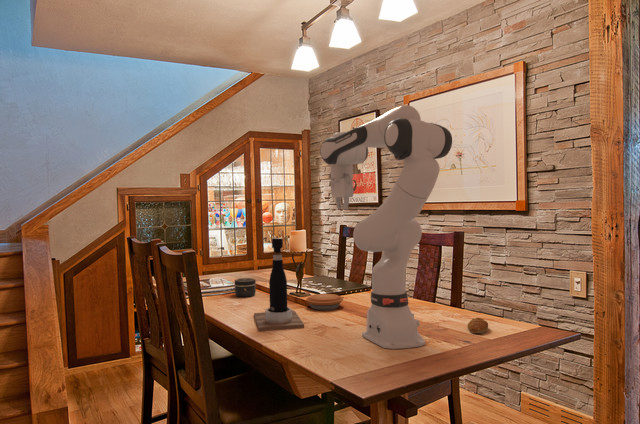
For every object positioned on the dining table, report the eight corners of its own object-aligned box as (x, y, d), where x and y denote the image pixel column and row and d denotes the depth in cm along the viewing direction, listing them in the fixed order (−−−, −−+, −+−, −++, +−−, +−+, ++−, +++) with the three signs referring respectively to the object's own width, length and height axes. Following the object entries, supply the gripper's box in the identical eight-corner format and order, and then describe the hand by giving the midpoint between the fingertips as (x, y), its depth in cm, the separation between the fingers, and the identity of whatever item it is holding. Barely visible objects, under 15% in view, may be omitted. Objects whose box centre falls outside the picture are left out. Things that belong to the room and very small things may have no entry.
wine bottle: (289, 318, 180) (287, 238, 179) (286, 322, 173) (284, 239, 172) (272, 318, 180) (270, 238, 179) (268, 322, 174) (266, 239, 173)
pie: (299, 310, 198) (299, 298, 198) (315, 302, 212) (315, 290, 212) (334, 313, 192) (334, 300, 192) (348, 304, 206) (348, 293, 206)
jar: (235, 298, 223) (234, 282, 222) (234, 294, 232) (233, 278, 232) (257, 297, 225) (256, 280, 225) (254, 293, 235) (254, 277, 235)
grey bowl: (293, 322, 173) (293, 311, 173) (266, 324, 171) (266, 313, 171) (289, 316, 182) (289, 305, 182) (264, 318, 180) (264, 307, 180)
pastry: (488, 336, 157) (488, 324, 157) (466, 334, 160) (466, 323, 159) (488, 328, 166) (488, 317, 166) (467, 327, 168) (467, 316, 168)
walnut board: (304, 327, 171) (304, 324, 171) (258, 331, 167) (258, 327, 167) (294, 313, 192) (294, 310, 192) (253, 316, 189) (253, 313, 189)
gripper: (357, 172, 182) (357, 209, 182) (342, 175, 202) (343, 208, 202) (341, 172, 180) (341, 209, 181) (328, 175, 200) (328, 208, 201)
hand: (342, 208), depth 192 cm, fingers open, 8 cm apart
